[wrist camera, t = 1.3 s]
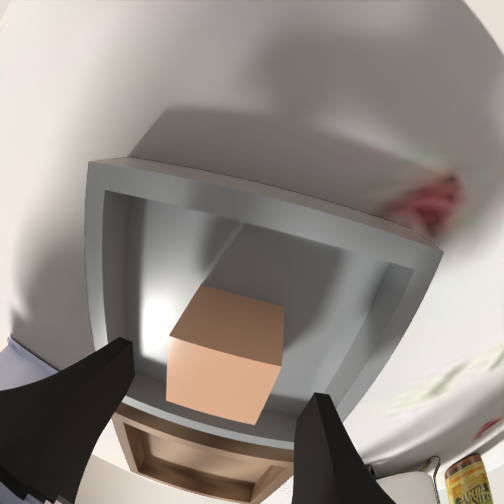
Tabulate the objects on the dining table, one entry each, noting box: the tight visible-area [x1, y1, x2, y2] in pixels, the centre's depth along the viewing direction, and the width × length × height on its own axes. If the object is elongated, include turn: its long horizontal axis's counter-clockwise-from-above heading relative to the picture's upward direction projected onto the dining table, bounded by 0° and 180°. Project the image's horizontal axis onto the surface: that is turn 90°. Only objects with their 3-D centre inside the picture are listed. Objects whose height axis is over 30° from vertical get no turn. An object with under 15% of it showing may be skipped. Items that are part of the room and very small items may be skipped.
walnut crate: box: [111, 402, 294, 504], centre depth 18 cm, size 14×14×3 cm
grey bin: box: [85, 157, 444, 450], centre depth 13 cm, size 14×14×3 cm
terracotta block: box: [166, 285, 285, 425], centre depth 11 cm, size 4×4×4 cm
